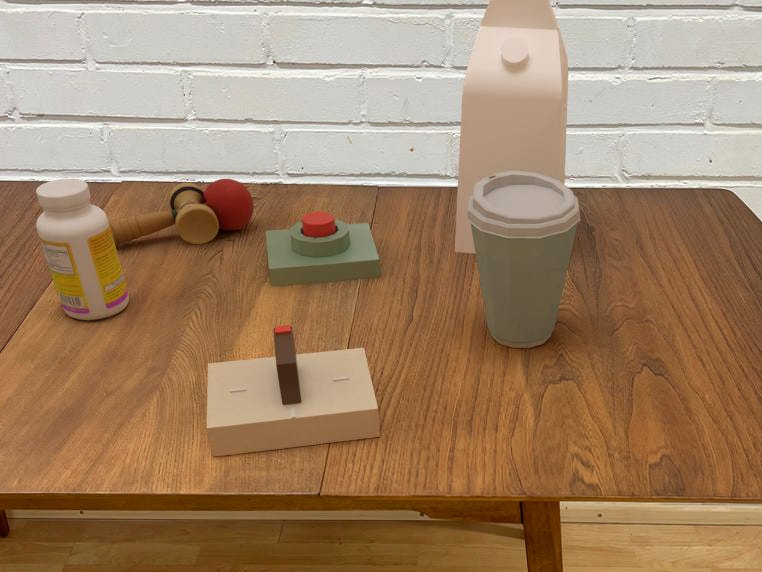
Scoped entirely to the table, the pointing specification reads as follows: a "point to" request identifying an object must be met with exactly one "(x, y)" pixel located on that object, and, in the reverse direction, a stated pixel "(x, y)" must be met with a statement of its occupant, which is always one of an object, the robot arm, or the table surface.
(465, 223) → the milk
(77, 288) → the supplement bottle
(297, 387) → the brown box red tab
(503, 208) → the disposable coffee cup
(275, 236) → the button box
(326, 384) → the panel
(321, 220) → the button
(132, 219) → the kendama
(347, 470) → the table surface
